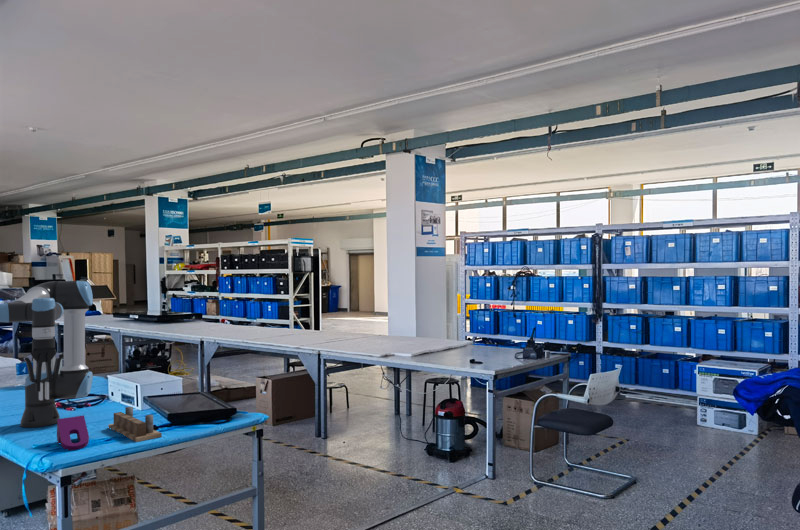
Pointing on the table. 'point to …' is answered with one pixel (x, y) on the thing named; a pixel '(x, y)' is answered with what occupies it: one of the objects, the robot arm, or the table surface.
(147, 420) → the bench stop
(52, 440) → the table surface
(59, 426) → the mounting bracket
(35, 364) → the hard drive box
